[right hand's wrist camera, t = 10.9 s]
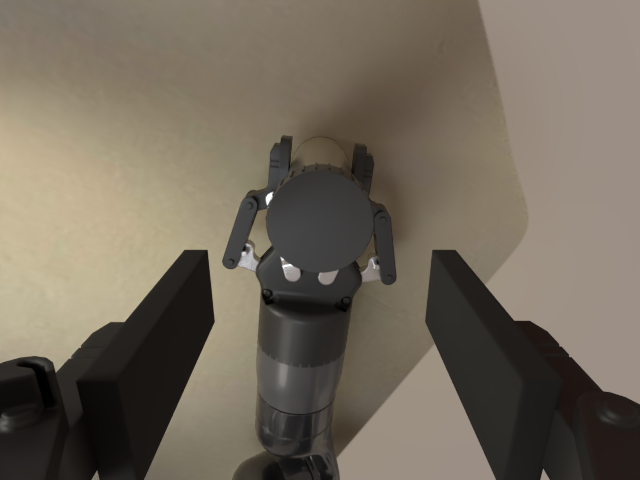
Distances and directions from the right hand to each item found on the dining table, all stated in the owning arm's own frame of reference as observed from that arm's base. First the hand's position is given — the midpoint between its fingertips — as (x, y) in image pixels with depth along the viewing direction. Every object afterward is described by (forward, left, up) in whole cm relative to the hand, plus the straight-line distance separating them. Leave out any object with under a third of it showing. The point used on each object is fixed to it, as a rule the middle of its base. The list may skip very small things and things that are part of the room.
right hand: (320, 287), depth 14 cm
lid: (0, 0, -7) cm, 7 cm away
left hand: (+1, +2, -18) cm, 18 cm away
